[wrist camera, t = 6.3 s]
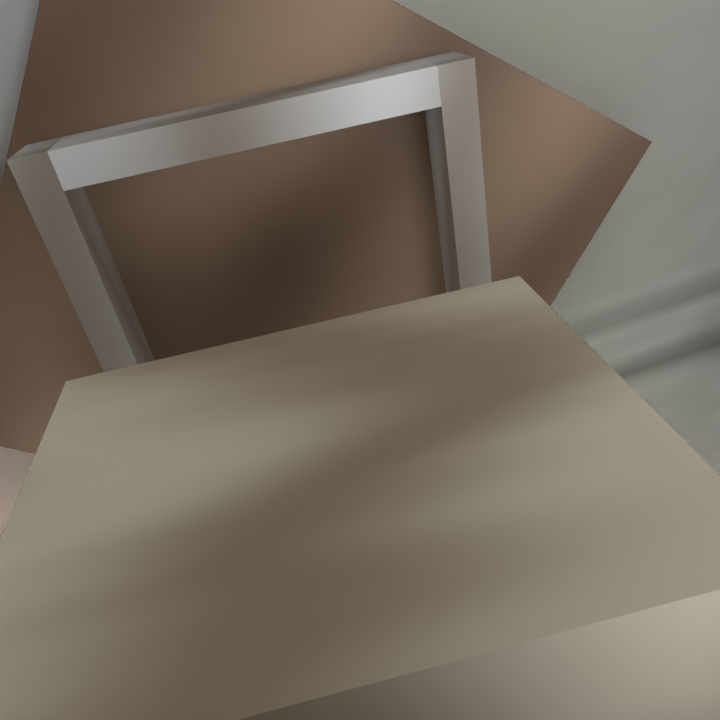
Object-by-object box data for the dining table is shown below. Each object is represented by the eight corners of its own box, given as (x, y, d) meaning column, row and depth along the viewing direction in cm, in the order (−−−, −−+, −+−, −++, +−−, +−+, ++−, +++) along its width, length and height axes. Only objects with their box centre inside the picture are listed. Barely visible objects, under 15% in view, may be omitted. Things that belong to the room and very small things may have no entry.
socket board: (630, 134, 17) (687, 154, 15) (401, 514, 23) (419, 569, 21) (86, -162, 12) (57, -193, 10) (-38, 413, 18) (-74, 471, 16)
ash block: (519, 276, 9) (810, 565, 4) (531, 576, 12) (706, 918, 7) (66, 380, 8) (-116, 813, 4) (204, 663, 11) (188, 1075, 7)
